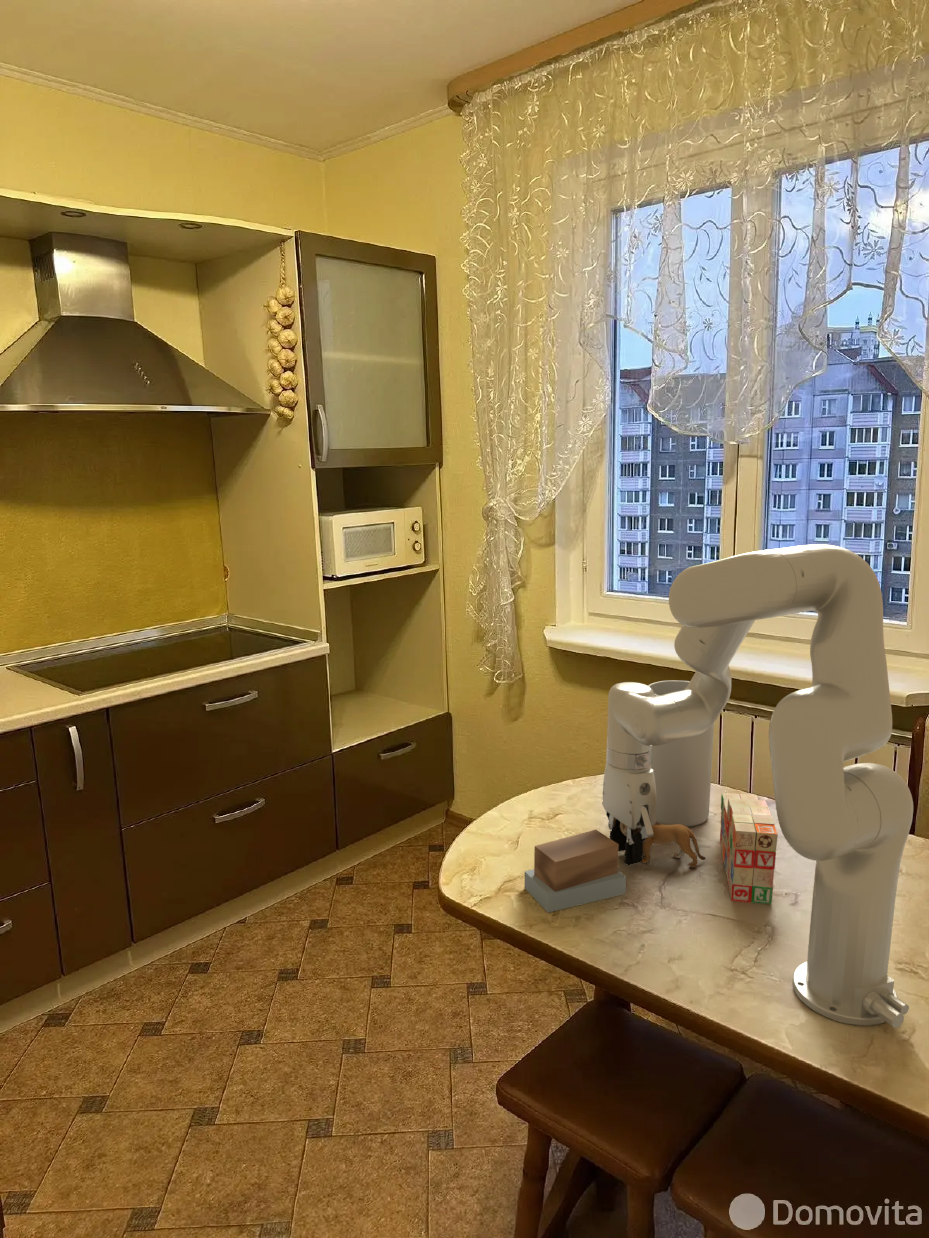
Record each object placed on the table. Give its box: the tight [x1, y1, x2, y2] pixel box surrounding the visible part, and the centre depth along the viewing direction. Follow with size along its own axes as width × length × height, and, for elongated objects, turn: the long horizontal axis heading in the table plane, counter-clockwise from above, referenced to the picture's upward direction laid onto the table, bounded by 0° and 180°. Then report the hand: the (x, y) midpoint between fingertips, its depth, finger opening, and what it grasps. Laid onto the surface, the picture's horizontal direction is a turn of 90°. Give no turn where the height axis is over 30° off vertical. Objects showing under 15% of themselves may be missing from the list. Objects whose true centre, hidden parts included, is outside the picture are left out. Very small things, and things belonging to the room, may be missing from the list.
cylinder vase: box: [647, 679, 715, 828], centre depth 165 cm, size 12×12×25 cm
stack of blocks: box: [719, 792, 778, 905], centre depth 145 cm, size 21×6×12 cm, turn 169°
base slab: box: [524, 868, 627, 913], centre depth 139 cm, size 8×14×3 cm, turn 113°
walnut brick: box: [533, 829, 619, 892], centre depth 139 cm, size 6×12×5 cm, turn 118°
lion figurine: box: [620, 822, 707, 869], centre depth 148 cm, size 15×5×9 cm, turn 84°
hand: (625, 855), depth 149 cm, fingers closed on lion figurine, 3 cm apart
